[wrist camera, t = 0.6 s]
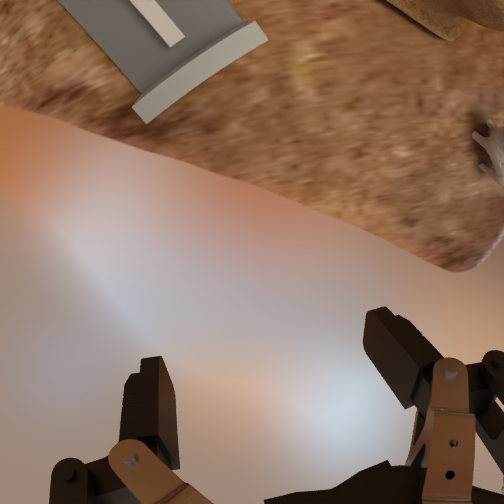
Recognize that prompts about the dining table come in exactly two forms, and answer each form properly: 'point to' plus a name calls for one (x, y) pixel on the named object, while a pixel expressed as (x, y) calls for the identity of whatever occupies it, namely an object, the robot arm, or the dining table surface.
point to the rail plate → (166, 43)
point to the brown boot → (453, 14)
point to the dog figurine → (493, 151)
